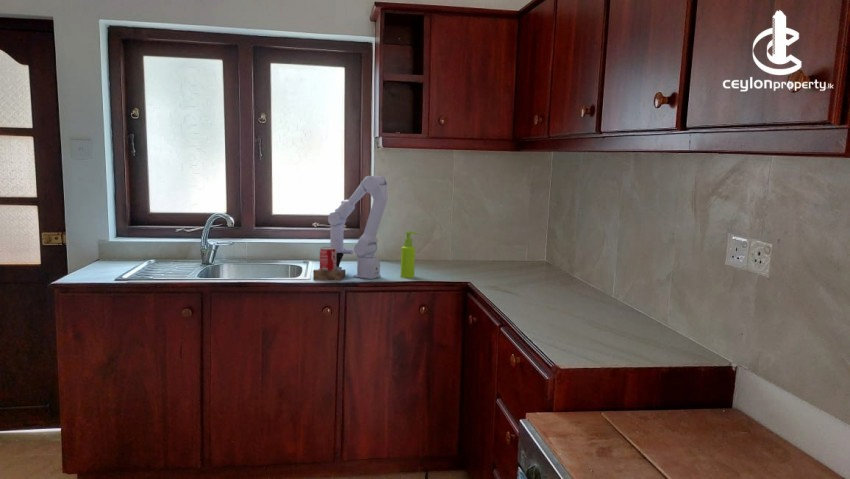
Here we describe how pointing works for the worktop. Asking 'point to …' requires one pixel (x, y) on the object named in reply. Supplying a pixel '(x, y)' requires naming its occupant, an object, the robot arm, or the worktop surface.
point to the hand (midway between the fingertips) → (336, 269)
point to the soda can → (328, 259)
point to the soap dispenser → (408, 257)
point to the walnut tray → (328, 275)
